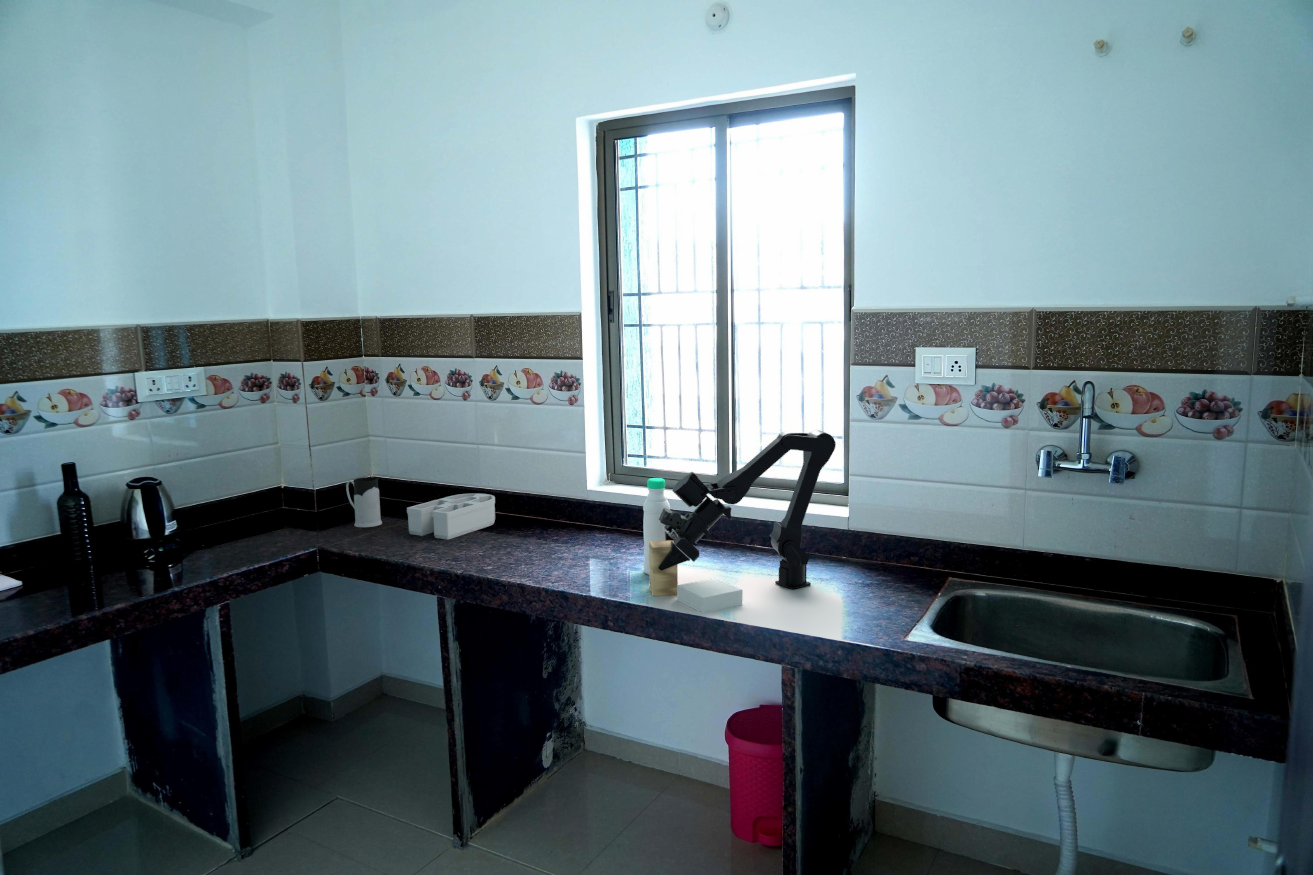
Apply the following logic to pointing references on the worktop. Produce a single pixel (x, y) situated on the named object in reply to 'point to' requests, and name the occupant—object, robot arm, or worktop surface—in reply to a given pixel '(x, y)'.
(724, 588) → the grey base block
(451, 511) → the white compartment organizer
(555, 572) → the worktop surface
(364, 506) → the white and grey pitcher
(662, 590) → the honey wood block
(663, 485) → the water bottle
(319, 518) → the worktop surface
